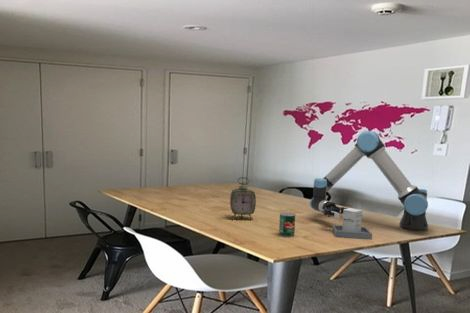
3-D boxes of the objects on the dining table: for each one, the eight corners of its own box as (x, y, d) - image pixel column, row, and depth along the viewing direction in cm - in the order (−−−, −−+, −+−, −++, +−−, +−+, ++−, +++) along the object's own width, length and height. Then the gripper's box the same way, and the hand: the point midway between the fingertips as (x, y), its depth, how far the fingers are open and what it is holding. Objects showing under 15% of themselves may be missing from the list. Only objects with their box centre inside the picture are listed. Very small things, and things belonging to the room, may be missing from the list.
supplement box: (341, 232, 216) (342, 209, 215) (348, 230, 221) (350, 207, 221) (354, 235, 211) (355, 211, 210) (361, 233, 216) (362, 210, 215)
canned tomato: (284, 232, 215) (285, 211, 215) (297, 235, 210) (298, 214, 210) (275, 235, 209) (276, 213, 209) (289, 238, 204) (290, 216, 204)
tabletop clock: (230, 220, 239) (232, 177, 238) (229, 217, 248) (230, 176, 247) (254, 220, 241) (256, 178, 239) (252, 217, 250) (254, 176, 248)
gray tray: (365, 232, 222) (366, 227, 222) (371, 239, 208) (372, 233, 208) (332, 230, 224) (332, 225, 224) (335, 237, 210) (335, 231, 210)
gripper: (345, 213, 242) (368, 221, 222) (308, 214, 233) (328, 223, 213) (346, 201, 241) (369, 207, 221) (309, 201, 233) (329, 209, 213)
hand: (349, 215), depth 217 cm, fingers open, 13 cm apart
